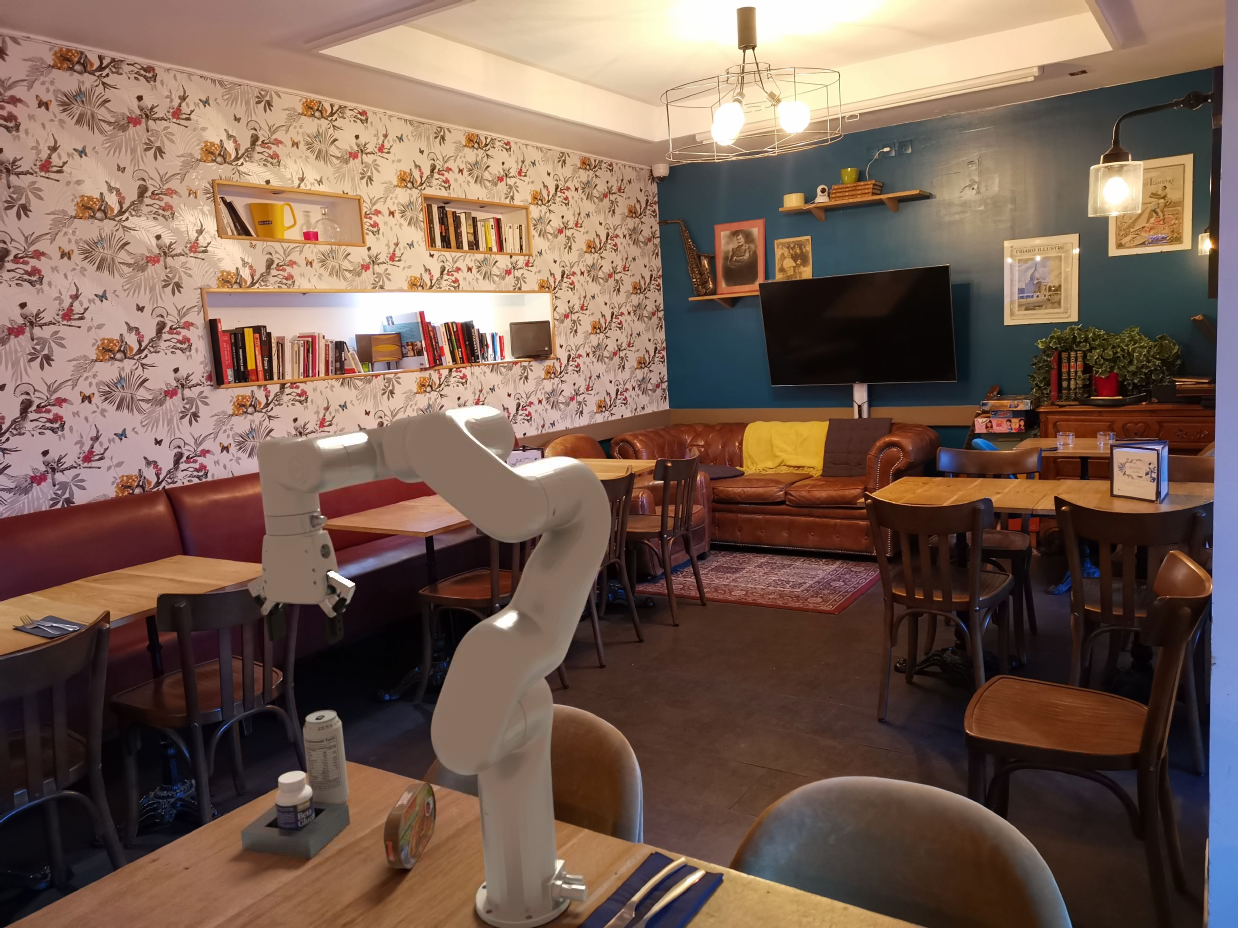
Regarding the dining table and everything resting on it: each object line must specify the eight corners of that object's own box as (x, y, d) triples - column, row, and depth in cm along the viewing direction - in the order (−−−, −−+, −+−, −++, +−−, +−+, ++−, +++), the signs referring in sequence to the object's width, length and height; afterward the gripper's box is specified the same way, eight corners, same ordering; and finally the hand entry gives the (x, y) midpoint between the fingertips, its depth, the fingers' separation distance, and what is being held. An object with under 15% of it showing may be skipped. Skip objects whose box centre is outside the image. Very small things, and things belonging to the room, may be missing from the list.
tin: (405, 880, 124) (399, 824, 123) (383, 880, 124) (377, 823, 123) (439, 823, 139) (435, 772, 138) (420, 822, 139) (415, 771, 138)
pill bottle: (304, 847, 134) (297, 785, 133) (272, 844, 135) (265, 784, 134) (323, 827, 139) (317, 768, 138) (292, 826, 140) (285, 767, 139)
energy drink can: (355, 793, 150) (346, 708, 148) (340, 811, 144) (331, 723, 142) (320, 793, 150) (311, 708, 149) (305, 812, 145) (295, 724, 143)
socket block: (350, 822, 140) (348, 804, 140) (311, 858, 131) (309, 839, 130) (285, 815, 144) (283, 797, 143) (242, 849, 134) (240, 830, 134)
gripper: (361, 518, 128) (372, 633, 130) (260, 518, 133) (272, 629, 135) (330, 529, 121) (343, 651, 123) (224, 529, 126) (238, 646, 128)
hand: (306, 639), depth 129 cm, fingers open, 9 cm apart
